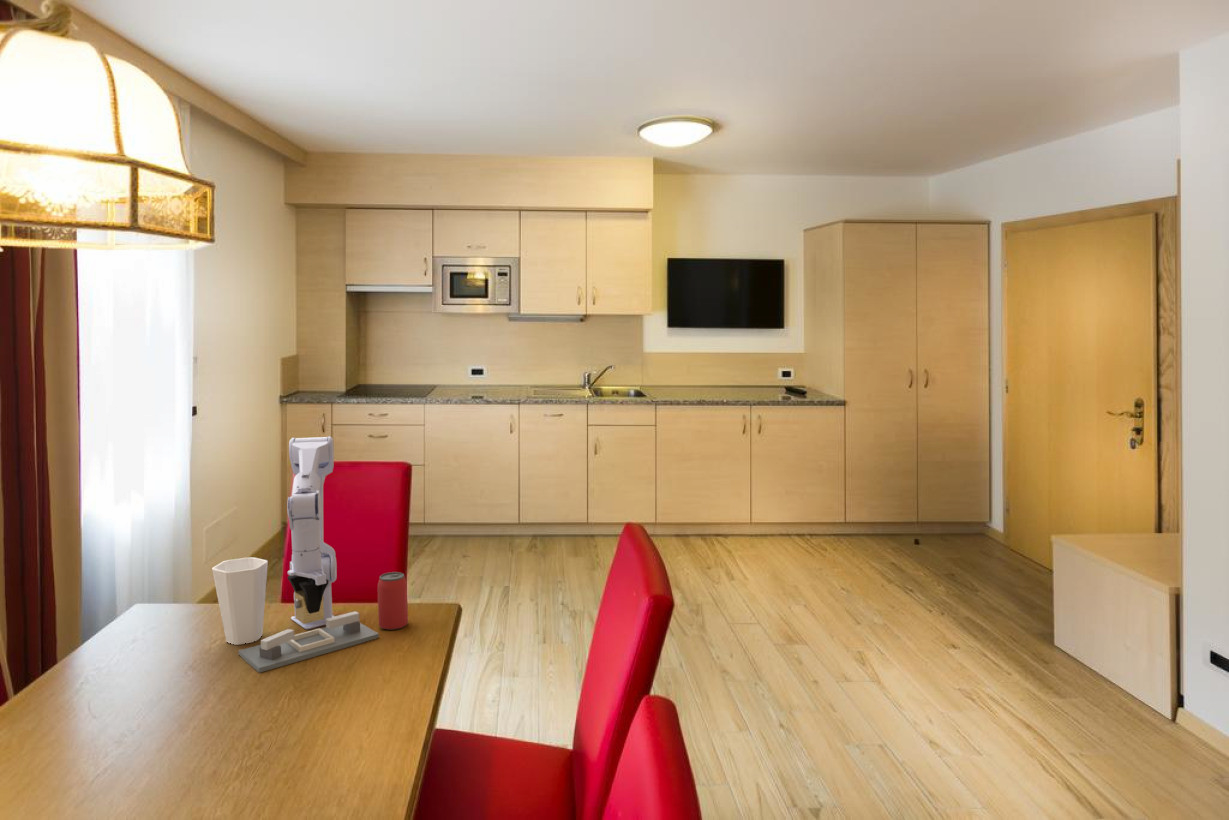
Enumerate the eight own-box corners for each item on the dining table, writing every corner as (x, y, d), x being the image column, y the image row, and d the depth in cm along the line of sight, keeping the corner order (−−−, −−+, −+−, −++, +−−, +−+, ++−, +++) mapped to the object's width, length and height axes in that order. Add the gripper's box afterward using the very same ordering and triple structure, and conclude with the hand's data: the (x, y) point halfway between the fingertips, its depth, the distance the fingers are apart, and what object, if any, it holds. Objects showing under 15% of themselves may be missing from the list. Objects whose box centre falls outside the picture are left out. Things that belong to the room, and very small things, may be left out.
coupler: (293, 619, 174) (291, 592, 173) (318, 612, 178) (317, 586, 177) (301, 624, 171) (299, 597, 170) (326, 618, 174) (325, 591, 174)
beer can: (414, 623, 188) (412, 574, 186) (392, 633, 182) (390, 581, 181) (394, 618, 191) (392, 569, 190) (372, 627, 186) (370, 577, 184)
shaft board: (238, 655, 170) (237, 632, 170) (354, 623, 188) (353, 603, 187) (259, 672, 162) (257, 649, 161) (378, 638, 179) (378, 616, 179)
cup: (255, 648, 174) (250, 572, 172) (208, 648, 174) (204, 572, 172) (277, 629, 185) (274, 557, 183) (234, 629, 185) (229, 557, 183)
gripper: (274, 545, 175) (277, 605, 176) (301, 559, 164) (304, 622, 166) (306, 539, 180) (309, 597, 181) (334, 552, 169) (337, 614, 171)
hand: (309, 609), depth 174 cm, fingers closed on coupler, 4 cm apart
